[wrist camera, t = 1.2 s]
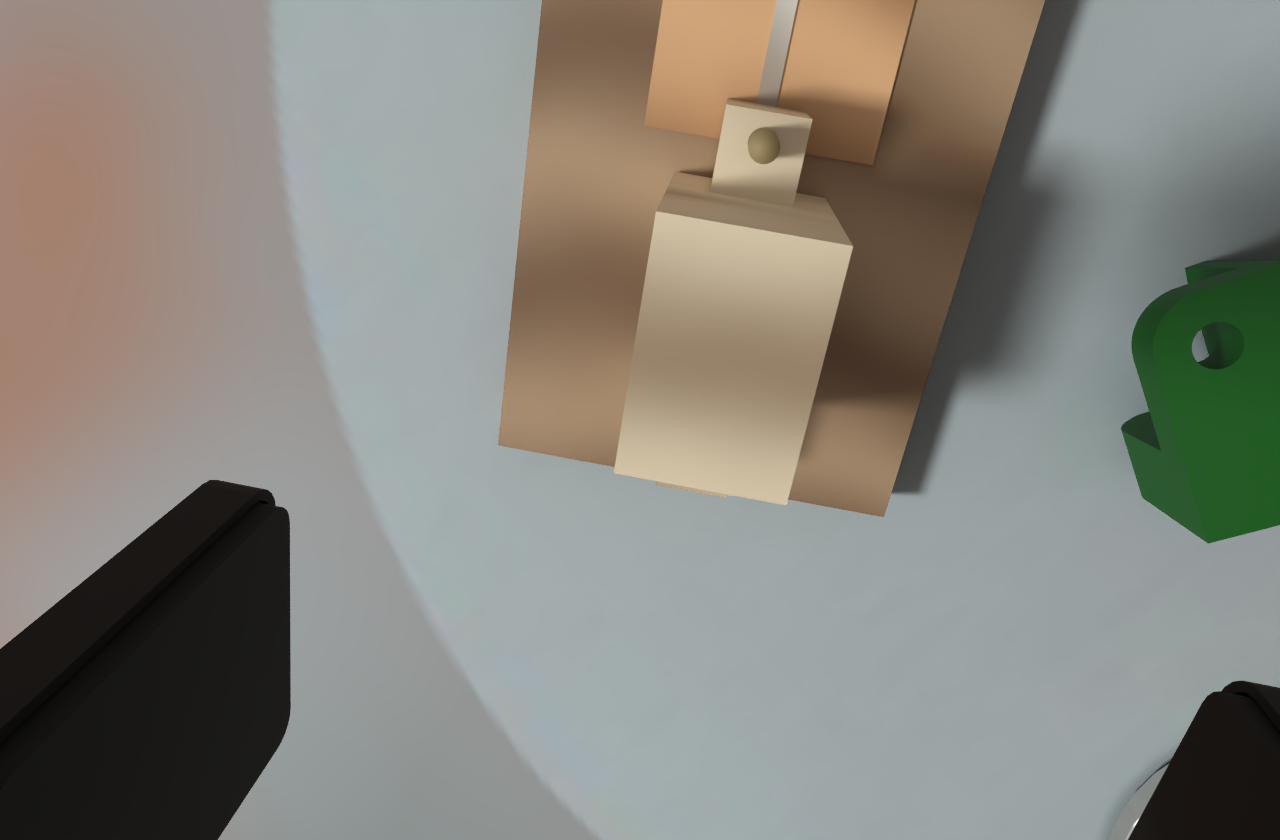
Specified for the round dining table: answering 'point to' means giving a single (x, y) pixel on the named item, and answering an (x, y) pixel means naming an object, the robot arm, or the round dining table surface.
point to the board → (832, 168)
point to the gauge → (734, 316)
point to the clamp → (1211, 400)
